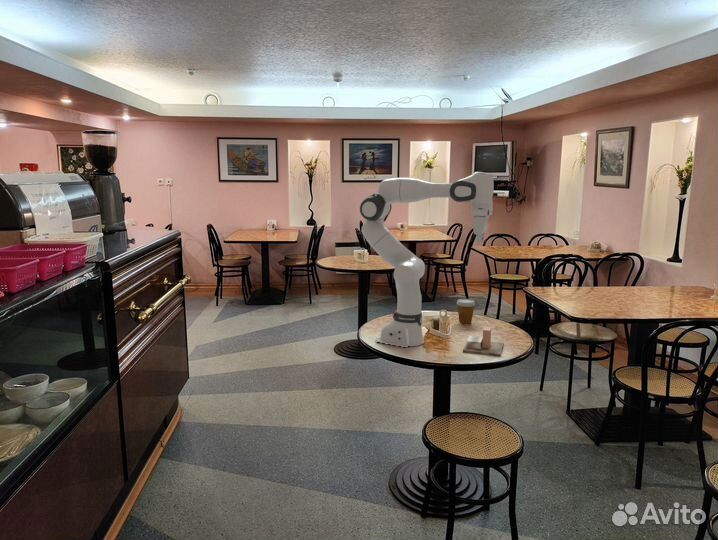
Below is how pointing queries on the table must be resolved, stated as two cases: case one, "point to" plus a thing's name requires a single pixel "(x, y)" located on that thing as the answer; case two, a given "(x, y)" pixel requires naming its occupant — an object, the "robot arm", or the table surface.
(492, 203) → the robot arm
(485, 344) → the terracotta tab
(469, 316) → the disposable coffee cup
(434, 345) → the table surface
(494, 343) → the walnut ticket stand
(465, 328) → the table surface
